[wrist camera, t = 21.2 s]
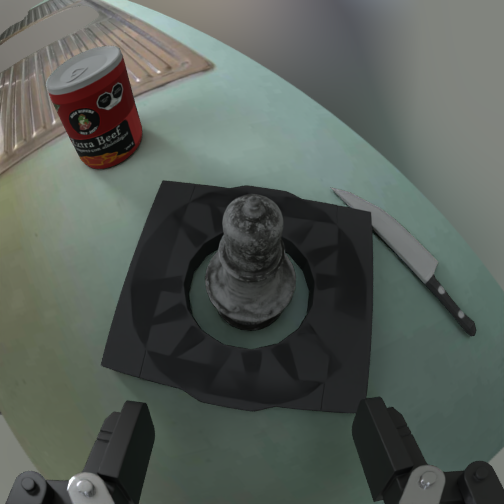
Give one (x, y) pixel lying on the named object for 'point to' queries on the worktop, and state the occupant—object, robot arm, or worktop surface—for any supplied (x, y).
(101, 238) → the worktop surface
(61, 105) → the canned food
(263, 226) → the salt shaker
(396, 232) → the chef's knife
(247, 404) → the black pad
